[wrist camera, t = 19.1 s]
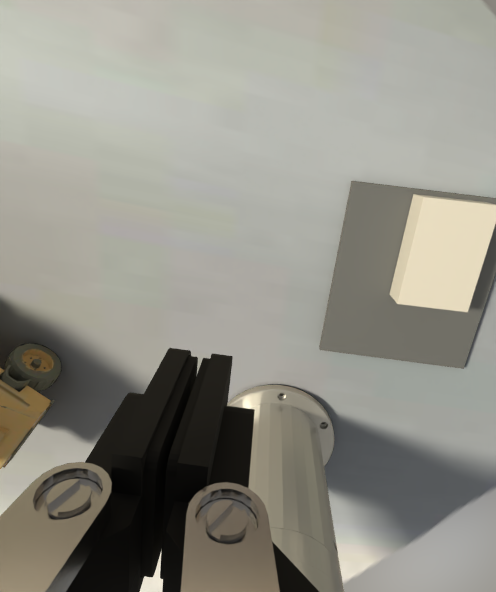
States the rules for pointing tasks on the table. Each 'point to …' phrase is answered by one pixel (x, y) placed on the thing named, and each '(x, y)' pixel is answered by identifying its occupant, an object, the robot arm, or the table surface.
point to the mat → (378, 280)
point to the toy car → (24, 395)
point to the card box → (442, 252)
